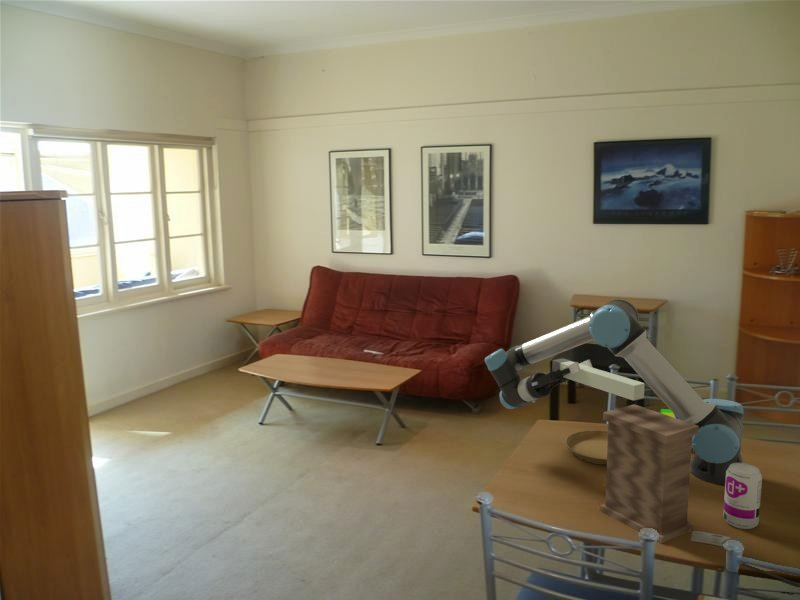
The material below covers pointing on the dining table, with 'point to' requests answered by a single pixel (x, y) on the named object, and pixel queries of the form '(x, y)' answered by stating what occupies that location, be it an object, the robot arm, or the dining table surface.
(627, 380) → the bar
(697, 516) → the dining table surface
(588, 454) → the plant saucer
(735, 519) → the supplement can
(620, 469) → the stand
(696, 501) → the dining table surface
